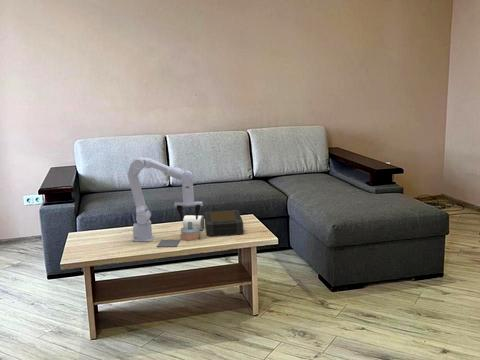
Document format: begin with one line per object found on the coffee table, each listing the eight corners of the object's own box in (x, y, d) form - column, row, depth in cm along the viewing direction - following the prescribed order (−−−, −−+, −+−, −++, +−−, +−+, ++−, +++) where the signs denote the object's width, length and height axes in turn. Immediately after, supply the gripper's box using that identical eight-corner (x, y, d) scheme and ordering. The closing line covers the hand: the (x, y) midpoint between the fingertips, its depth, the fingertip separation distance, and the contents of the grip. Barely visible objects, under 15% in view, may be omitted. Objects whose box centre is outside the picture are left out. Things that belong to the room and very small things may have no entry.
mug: (200, 231, 275) (199, 217, 273) (183, 231, 277) (182, 217, 276) (206, 225, 287) (205, 212, 285) (189, 225, 289) (188, 211, 287)
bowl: (180, 240, 261) (180, 233, 260) (183, 235, 270) (183, 228, 269) (198, 240, 261) (197, 233, 260) (200, 235, 269) (199, 227, 269)
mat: (157, 247, 252) (157, 246, 252) (161, 240, 262) (161, 239, 262) (176, 246, 252) (176, 245, 252) (180, 240, 262) (180, 239, 261)
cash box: (244, 235, 268) (244, 221, 266) (206, 237, 266) (206, 223, 264) (239, 221, 292) (239, 209, 290) (204, 224, 290) (204, 211, 288)
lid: (180, 228, 269) (179, 220, 268) (199, 227, 270) (198, 219, 269) (181, 234, 259) (180, 225, 258) (200, 232, 260) (200, 224, 260)
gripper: (172, 196, 257) (174, 221, 260) (201, 195, 256) (202, 221, 259) (175, 193, 264) (176, 217, 267) (202, 192, 263) (203, 217, 266)
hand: (189, 219), depth 263 cm, fingers open, 7 cm apart
